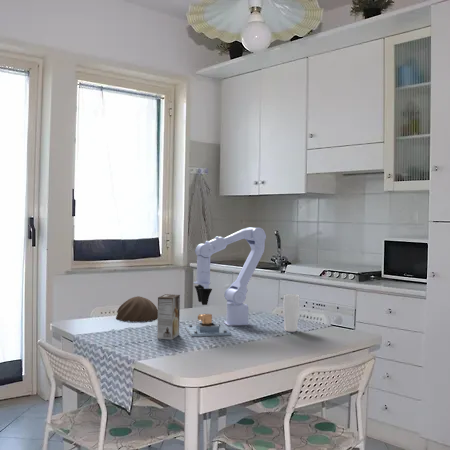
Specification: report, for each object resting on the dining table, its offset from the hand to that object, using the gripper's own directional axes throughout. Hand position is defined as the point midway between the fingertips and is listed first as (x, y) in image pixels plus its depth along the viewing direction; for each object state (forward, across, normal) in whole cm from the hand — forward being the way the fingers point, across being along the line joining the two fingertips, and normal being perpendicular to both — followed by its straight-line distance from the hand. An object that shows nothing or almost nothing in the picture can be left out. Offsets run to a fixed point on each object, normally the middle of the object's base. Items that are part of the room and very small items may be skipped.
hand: (202, 303), depth 237 cm
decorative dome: (+10, -24, -26) cm, 36 cm away
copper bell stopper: (+9, +11, 0) cm, 14 cm away
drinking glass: (+10, +14, +35) cm, 39 cm away
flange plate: (+10, +11, 0) cm, 15 cm away
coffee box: (+10, +18, -17) cm, 27 cm away
